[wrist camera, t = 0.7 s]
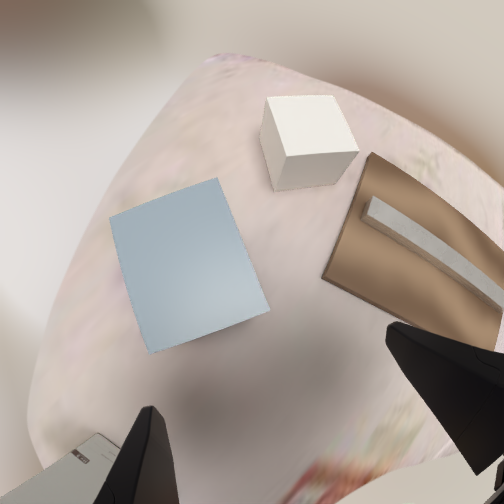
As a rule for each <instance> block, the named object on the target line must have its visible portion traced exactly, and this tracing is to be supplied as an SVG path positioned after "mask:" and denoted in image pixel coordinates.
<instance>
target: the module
mask: <svg viewBox="0 0 504 504" xmlns="http://www.w3.org/2000/svg"><path fill="white" fill-rule="evenodd" d="M109 220H110V224H111V229H112V234H113V238H114V242H115V247H116V251H117V255H118V259H119V262H120V266H121V270H122V274H123V277H124V281H125V284H126V288H127V291H128V294H129V298H130V301H131V304H132V307H133V310H134V313H135V316H136V319H137V322H138V325H139V328H140V331H141V334H142V337H143V339H144V342H145V345H146V347H147V350H148V353H149V354H152V353H155V352H158V351H161V350H164V349H167V348H170V347H173V346H176V345H179V344H182V343H185V342H188V341H191V340H194V339H197V338H199V337H202V336H205V335H208V334H210V333H213V332H216V331H219V330H221V329H224V328H227V327H229V326H232V325H235V324H237V323H240V322H242V321H245V320H248V319H250V318H253V317H255V316H258V315H260V314H263V313H265V312H268V311H270V308H269V305H268V303H267V300H266V298H265V295H264V293H263V290H262V288H261V285H260V283H259V280H258V278H257V276H256V273H255V271H254V268H253V266H252V263H251V261H250V258H249V256H248V253H247V251H246V248H245V246H244V243H243V241H242V238H241V236H240V233H239V231H238V228H237V226H236V223H235V221H234V218H233V216H232V213H231V211H230V208H229V206H228V203H227V201H226V198H225V196H224V193H223V191H222V188H221V186H220V183H219V181H218V178H214V179H211V180H208V181H205V182H202V183H199V184H196V185H193V186H190V187H187V188H184V189H182V190H179V191H176V192H173V193H171V194H168V195H165V196H162V197H160V198H157V199H155V200H152V201H149V202H147V203H144V204H142V205H139V206H137V207H134V208H132V209H129V210H127V211H124V212H122V213H120V214H117V215H115V216H112V217H110V218H109Z"/></svg>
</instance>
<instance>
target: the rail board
mask: <svg viewBox="0 0 504 504" xmlns="http://www.w3.org/2000/svg"><path fill="white" fill-rule="evenodd" d="M322 279H324V280H326V281H328V282H330V283H332V284H334V285H336V286H338V287H340V288H341V289H343V290H345V291H347V292H349V293H351V294H353V295H355V296H357V297H359V298H361V299H363V300H365V301H367V302H368V303H370V304H372V305H374V306H376V307H378V308H380V309H382V310H384V311H386V312H388V313H390V314H392V315H393V316H395V317H397V318H399V319H401V320H403V321H405V322H407V323H409V324H411V325H413V326H414V327H416V328H419V329H422V330H426V331H429V332H432V333H435V334H438V335H441V336H444V337H447V338H450V339H453V340H457V341H460V342H463V343H466V344H469V345H472V346H476V347H479V348H483V349H486V350H490V351H494V349H495V345H496V341H497V337H498V333H499V328H500V324H501V319H502V314H503V312H504V251H503V250H502V249H501V248H500V247H498V246H497V245H496V244H495V243H494V242H493V241H492V240H491V239H490V238H489V237H488V236H487V235H486V234H484V233H483V232H482V231H481V230H480V229H479V228H478V227H477V226H475V225H474V224H473V223H472V222H471V221H470V220H468V219H467V218H466V217H465V216H464V215H462V214H461V213H460V212H459V211H457V210H456V209H455V208H454V207H452V206H451V205H450V204H449V203H447V202H446V201H445V200H443V199H442V198H441V197H439V196H438V195H437V194H435V193H434V192H433V191H431V190H430V189H428V188H427V187H426V186H424V185H423V184H421V183H420V182H419V181H417V180H416V179H414V178H413V177H411V176H410V175H408V174H407V173H405V172H404V171H402V170H401V169H399V168H398V167H396V166H395V165H393V164H391V163H390V162H388V161H387V160H385V159H383V158H382V157H380V156H378V155H377V154H375V153H373V152H371V153H370V155H369V156H368V158H367V161H366V164H365V167H364V170H363V173H362V176H361V179H360V182H359V184H358V187H357V190H356V193H355V196H354V198H353V201H352V204H351V206H350V209H349V212H348V214H347V217H346V220H345V222H344V225H343V227H342V230H341V232H340V235H339V238H338V240H337V243H336V245H335V247H334V250H333V252H332V255H331V257H330V260H329V262H328V264H327V267H326V269H325V271H324V274H323V276H322Z"/></svg>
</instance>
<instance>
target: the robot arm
mask: <svg viewBox="0 0 504 504" xmlns="http://www.w3.org/2000/svg"><path fill="white" fill-rule="evenodd" d="M385 341H386V345H387V347H388V348H389V350H390V352H391V353H392V355H393V357H394V358H395V360H396V362H397V363H398V365H399V367H400V368H401V370H402V372H403V373H404V375H405V376H406V377H407V379H408V380H409V381H410V383H411V384H412V385H413V387H414V388H415V389H416V391H417V392H418V393H419V395H420V396H421V397H422V399H423V400H424V401H425V403H426V404H427V405H428V407H429V408H430V410H431V411H432V412H433V414H434V415H435V416H436V418H437V419H438V421H439V422H440V423H441V425H442V426H443V428H444V429H445V430H446V432H447V433H448V435H449V436H450V438H451V439H452V440H453V442H454V443H455V445H456V446H457V448H458V449H459V451H460V452H461V454H462V455H463V457H464V458H465V460H466V461H467V463H468V464H469V466H470V467H471V468H472V470H473V472H474V473H475V475H476V476H477V475H479V474H480V473H481V472H482V471H484V470H485V469H486V468H487V467H489V466H490V465H491V464H492V463H493V462H495V461H496V460H497V459H498V458H499V457H500V456H501V455H502V454H503V456H504V353H499V352H494V351H490V350H486V349H483V348H479V347H476V346H472V345H469V344H466V343H463V342H460V341H457V340H453V339H450V338H447V337H444V336H441V335H438V334H435V333H432V332H429V331H426V330H422V329H419V328H416V327H413V326H410V325H407V324H404V323H401V322H398V321H396V322H393V323H391V324H389V325H388V326H387V331H386V339H385ZM494 490H495V491H496V492H495V493H494V494H493V495H492V496H491V497H490V498H489V499H488V500H487V501H486V502H485V503H484V504H504V459H503V460H502V462H500V464H499V465H498V467H497V474H496V481H495V487H494ZM92 504H179V498H178V492H177V485H176V478H175V470H174V462H173V456H172V451H171V447H170V443H169V439H168V434H167V429H166V424H165V421H164V418H163V417H162V415H161V414H160V413H159V412H158V410H157V409H156V408H155V407H154V406H146V407H143V408H142V409H141V411H140V413H139V415H138V417H137V418H136V420H135V422H134V424H133V426H132V428H131V430H130V432H129V434H128V436H127V438H126V440H125V442H124V444H123V446H122V447H121V449H120V451H119V453H118V455H117V457H116V459H115V461H114V463H113V465H112V467H111V469H110V471H109V473H108V475H107V477H106V481H104V483H103V485H102V487H101V489H100V491H99V493H98V495H97V497H96V499H95V500H94V502H93V503H92Z"/></svg>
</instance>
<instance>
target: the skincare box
mask: <svg viewBox="0 0 504 504" xmlns="http://www.w3.org/2000/svg"><path fill="white" fill-rule="evenodd" d="M119 451H120V449H119V448H118V447H116V446H115V445H113V444H112V443H111V442H109V441H108V440H107V439H106V438H105V437H103V436H102V435H100V434H98V433H97V434H95V435H94V436H92V437H91V438H90V439H88V440H87V441H86V442H84V443H83V444H81V445H80V446H78V447H77V448H76V449H74V450H73V451H71V452H70V453H68V454H67V455H66V456H64V457H63V458H61V459H60V460H58V461H57V462H55V463H54V464H52V465H51V466H49V467H48V468H46V469H45V470H43V471H42V472H41V473H39V474H37V475H36V476H34V477H33V478H31V479H29V480H27V481H26V482H24V483H23V484H21V485H20V486H18V487H17V488H15V489H13V490H12V491H10V492H8V493H7V494H5V495H4V496H2V497H0V504H92V503H93V502H94V500H95V499H96V497H97V495H98V493H99V491H100V489H101V487H102V485H103V483H104V481H106V477H107V475H108V473H109V471H110V469H111V467H112V465H113V463H114V461H115V459H116V457H117V455H118V453H119Z"/></svg>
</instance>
